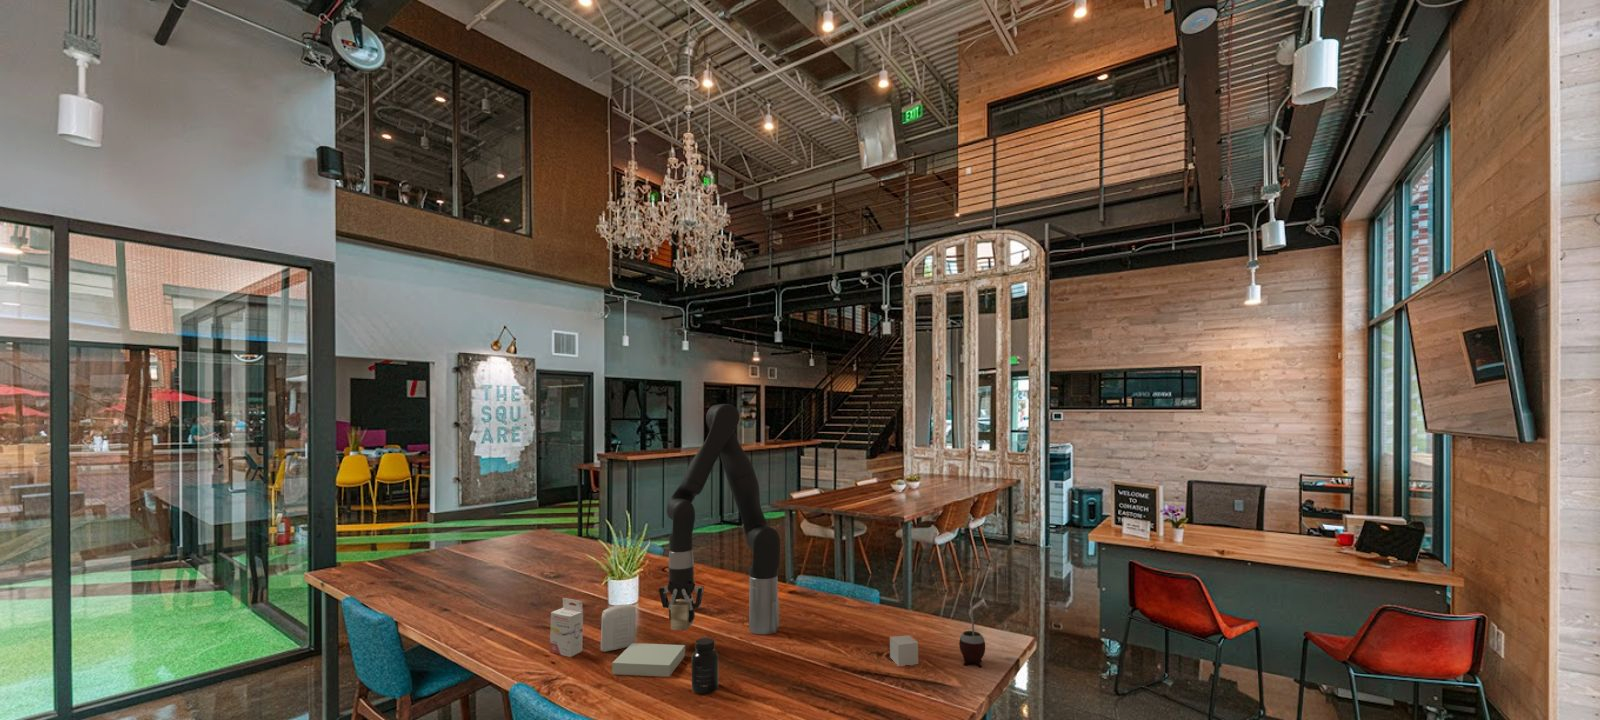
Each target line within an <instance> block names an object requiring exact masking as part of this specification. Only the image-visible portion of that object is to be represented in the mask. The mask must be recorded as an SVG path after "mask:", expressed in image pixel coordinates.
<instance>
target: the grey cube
mask: <svg viewBox="0 0 1600 720" xmlns="http://www.w3.org/2000/svg"><path fill="white" fill-rule="evenodd" d="M890 658H891V659H892V660H893V661H894V662H895V663H896V664H897V665H898V666H901V667H906V666H905V665H910V666H916V665H915V664H918V665H919V642H918V641H916V639H914V638H913V636H911V635H909V634H907V635H906V634H905V635H897V636H890V637H889V659H890ZM891 659H890V660H891ZM892 660H891V661H892ZM893 661H892V662H893ZM895 663H894V664H895ZM896 664H895V665H896ZM897 665H896V666H897ZM898 666H897V667H898Z"/></svg>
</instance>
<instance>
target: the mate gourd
mask: <svg viewBox="0 0 1600 720" xmlns="http://www.w3.org/2000/svg"><path fill="white" fill-rule="evenodd" d="M969 605H970V606H969V607H970V617H971V630H966V631H963V632H962V633H961V635H960V636H959V642H958V644H959V645H958V646H959V651H960V653H961V655H962V657H963V666H965V667H968V666H971V665H973V666H974V667H977V668H978V669H980V668H982V665H981V663H982V661H983V660H982V659H983V657H984V655H985V653H986V642H985V638H984V635H982V633H980V632H978V631H976V630H975V620H974V619H975V618H974V615H975V614H974V608H973V602H969Z"/></svg>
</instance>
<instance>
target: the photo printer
mask: <svg viewBox="0 0 1600 720" xmlns="http://www.w3.org/2000/svg"><path fill="white" fill-rule="evenodd" d="M636 611H637V610H636V607H635V605H632V604H624V603H623V604H616V605H614V606H613V605H612V606H610V607H608V608H605V609H604V610H603V611H602V614H601V626H600V627H601V630H600V632H601V634H600V651H601V652H604V653H605V652H610V651H615V650H620V649H624V648H626V649H627V648H628V647H629V646H630V645H631V644H632V643H636V618H637V617H636V616H637V615H636Z"/></svg>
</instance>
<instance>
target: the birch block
mask: <svg viewBox="0 0 1600 720" xmlns="http://www.w3.org/2000/svg"><path fill="white" fill-rule="evenodd" d="M693 623H694V620H693V621H692V622H689V604H687V603H686V601H685V599H677V600H676V602H674V604H672V605H671V620H670V630H671V631H688V629H689V628H690V627H692V625H693Z"/></svg>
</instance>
